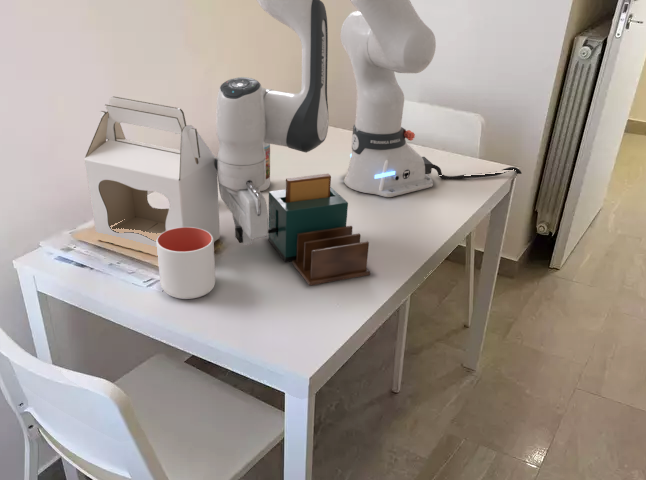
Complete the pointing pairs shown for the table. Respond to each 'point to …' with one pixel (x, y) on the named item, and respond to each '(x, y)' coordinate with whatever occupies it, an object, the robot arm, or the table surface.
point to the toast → (308, 187)
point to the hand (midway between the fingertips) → (243, 238)
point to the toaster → (302, 219)
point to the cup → (186, 262)
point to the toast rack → (331, 255)
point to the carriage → (240, 231)
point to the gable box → (150, 174)
